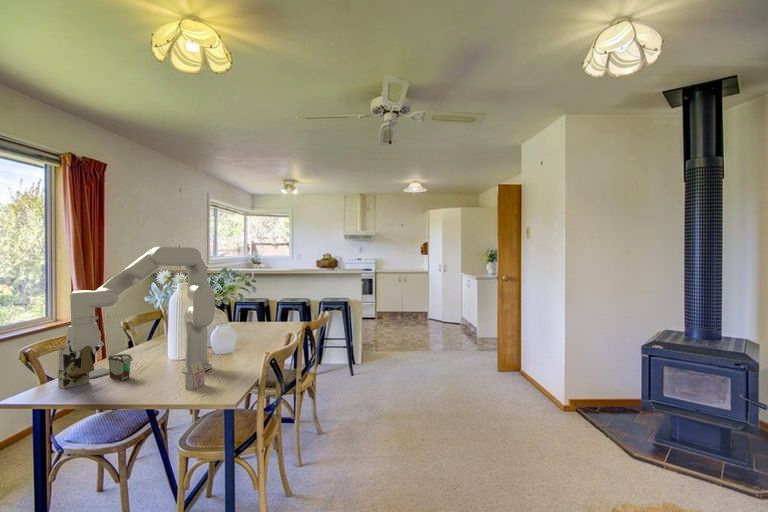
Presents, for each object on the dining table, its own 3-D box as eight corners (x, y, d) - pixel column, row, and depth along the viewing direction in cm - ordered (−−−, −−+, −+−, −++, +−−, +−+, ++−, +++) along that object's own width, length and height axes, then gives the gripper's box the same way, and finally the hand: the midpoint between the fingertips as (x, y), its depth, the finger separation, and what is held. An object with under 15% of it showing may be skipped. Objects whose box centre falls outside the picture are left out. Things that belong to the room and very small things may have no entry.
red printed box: (185, 389, 152) (185, 365, 152) (197, 383, 159) (197, 361, 159) (192, 390, 151) (193, 366, 151) (204, 384, 158) (204, 361, 158)
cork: (83, 374, 144) (82, 346, 144) (71, 373, 145) (70, 346, 145) (98, 369, 150) (97, 342, 150) (86, 368, 151) (85, 342, 151)
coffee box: (63, 389, 151) (63, 350, 151) (57, 386, 154) (58, 348, 154) (90, 382, 159) (90, 345, 159) (84, 380, 162) (84, 343, 162)
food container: (138, 377, 166) (138, 355, 165) (124, 382, 160) (124, 359, 160) (122, 373, 171) (122, 352, 171) (107, 377, 165) (107, 355, 165)
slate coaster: (115, 372, 172) (115, 370, 172) (91, 379, 163) (91, 377, 163) (102, 369, 177) (102, 367, 177) (78, 375, 167) (78, 374, 167)
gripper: (100, 316, 156) (102, 358, 157) (52, 324, 141) (54, 371, 142) (111, 317, 153) (112, 360, 154) (63, 326, 138) (65, 373, 139)
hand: (84, 365), depth 148 cm, fingers closed on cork, 4 cm apart
